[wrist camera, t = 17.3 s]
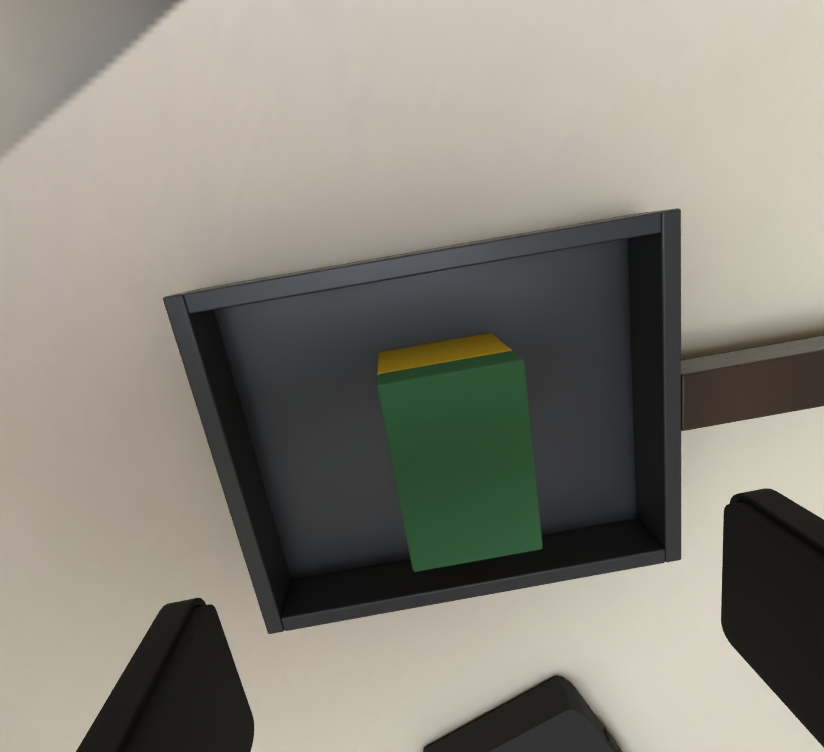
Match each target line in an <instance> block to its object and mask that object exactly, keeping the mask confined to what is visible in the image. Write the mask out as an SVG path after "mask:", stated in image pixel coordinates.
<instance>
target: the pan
mask: <svg viewBox="0 0 824 752" xmlns="http://www.w3.org/2000/svg"><path fill="white" fill-rule="evenodd" d="M163 301H164V304H165V307H166V310H167V313H168V317H169V320H170V323H171V326H172V329H173V332H174V336H175V339H176V342H177V345H178V348H179V352H180V355H181V358H182V361H183V364H184V367H185V371H186V374H187V377H188V380H189V383H190V387H191V390H192V393H193V396H194V399H195V402H196V406H197V409H198V412H199V415H200V418H201V422H202V425H203V428H204V431H205V434H206V437H207V441H208V444H209V447H210V450H211V453H212V457H213V460H214V463H215V466H216V469H217V472H218V476H219V479H220V482H221V485H222V488H223V492H224V495H225V498H226V501H227V504H228V507H229V511H230V514H231V517H232V520H233V523H234V527H235V530H236V533H237V536H238V539H239V542H240V546H241V549H242V552H243V555H244V558H245V562H246V565H247V568H248V571H249V574H250V577H251V581H252V584H253V587H254V590H255V593H256V597H257V600H258V603H259V606H260V609H261V612H262V616H263V619H264V622H265V625H266V628H267V632H268V634H272V633H278V632H283V631H284V630H285V631H288V630H294V629H299V628H305V627H310V626H316V625H321V624H327V623H332V622H338V621H344V620H349V619H355V618H360V617H366V616H371V615H377V614H382V613H388V612H394V611H399V610H405V609H410V608H416V607H421V606H427V605H432V604H438V603H443V602H449V601H455V600H460V599H466V598H471V597H477V596H482V595H488V594H493V593H499V592H505V591H510V590H516V589H521V588H527V587H532V586H538V585H543V584H549V583H555V582H560V581H566V580H571V579H577V578H582V577H588V576H593V575H599V574H604V573H610V572H616V571H621V570H627V569H632V568H638V567H643V566H649V565H654V564H660V563H664V562H671V561H677V560H680V559H681V210H680V209H670V210H662V211H654V212H646V213H638V214H631V215H626V216H620V217H614V218H608V219H602V220H597V221H591V222H585V223H579V224H573V225H568V226H562V227H556V228H550V229H544V230H539V231H533V232H527V233H521V234H515V235H509V236H504V237H498V238H492V239H486V240H480V241H475V242H469V243H463V244H457V245H451V246H446V247H440V248H434V249H428V250H422V251H417V252H411V253H405V254H399V255H393V256H388V257H382V258H376V259H370V260H364V261H358V262H353V263H347V264H341V265H335V266H329V267H324V268H318V269H312V270H306V271H300V272H295V273H289V274H283V275H277V276H271V277H266V278H260V279H254V280H248V281H242V282H237V283H231V284H225V285H219V286H213V287H207V288H202V289H196V290H192V291H188V292H183V293H179V294H175V295H171V296H166V297H164V298H163ZM487 333H492V334H493V335H494V336H495V337H497V338H498V339H499V340H500V341H501V342H503V343H504V344H505V345H506V346H507V347H509V348H510V349H511V350H512V351H513V352H514V353H516V354H517V355H518V356H519V357H520V358H522V359H523V360H524V364H525V374H526V384H527V394H528V404H529V414H530V424H531V434H532V444H533V454H534V464H535V474H536V484H537V494H538V504H539V514H540V524H541V534H542V544H543V547H542V549H540V550H534V551H529V552H523V553H518V554H512V555H507V556H501V557H495V558H490V559H484V560H479V561H473V562H468V563H462V564H456V565H451V566H445V567H440V568H434V569H428V570H423V571H417V572H414V571H413V569H412V565H411V560H410V554H409V549H408V544H407V539H406V534H405V529H404V524H403V519H402V514H401V508H400V503H399V498H398V493H397V488H396V483H395V478H394V473H393V468H392V462H391V457H390V452H389V447H388V442H387V437H386V432H385V427H384V422H383V416H382V411H381V406H380V401H379V396H378V391H377V377H378V376H377V372H378V354H379V352H383V351H389V350H395V349H400V348H406V347H412V346H418V345H423V344H429V343H435V342H441V341H446V340H452V339H458V338H464V337H469V336H475V335H481V334H487Z"/></svg>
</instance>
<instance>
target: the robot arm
mask: <svg viewBox="0 0 824 752" xmlns="http://www.w3.org/2000/svg"><path fill="white" fill-rule="evenodd" d="M721 624H722V628H723V631H724V633H725V636H726V637H727V639H728V641H729V642H730V643H731V645H732V646H733V647H734V648H735V649H736V651H737V652H738V653H739V654H740V655H741V656H742V657H743V658H744V659H745V661H746V662H747V663H748V664H749V665H750V666H751V667H752V668H753V669H754V670H755V672H756V673H757V674H758V675H759V676H760V677H761V678H762V679H763V680H764V682H765V683H766V684H767V685H768V686H769V687H770V688H771V689H772V690H773V692H774V693H775V694H776V695H777V696H778V697H779V698H780V699H781V700H782V702H783V703H784V704H785V705H786V706H787V707H788V708H789V709H790V710H791V712H792V713H793V714H794V715H795V716H796V717H797V718H798V719H799V720H800V722H801V723H802V724H803V725H804V726H805V727H806V728H807V729H808V730H809V732H810V733H811V734H812V735H813V736H814V737H815V738H816V739H817V740H818V742H819V743H820V744H821V745H822V746H823V747H824V520H823V519H822V518H820V517H818V516H817V515H815V514H813V513H812V512H810V511H808V510H807V509H805V508H803V507H802V506H800V505H798V504H797V503H795V502H793V501H792V500H790V499H788V498H787V497H785V496H783V495H782V494H780V493H778V492H777V491H774V490H772V489H760V490H755V491H750V492H744V493H739V494H736V495H734V496H733V497H732V498H731V500H730V504H728V505H726V507H725V509H724V527H723V567H722V607H721ZM253 738H254V720H253V716H252V712H251V710H250V707H249V704H248V701H247V698H246V695H245V692H244V689H243V686H242V683H241V680H240V678H239V675H238V672H237V669H236V666H235V663H234V660H233V657H232V654H231V651H230V649H229V646H228V643H227V640H226V637H225V634H224V631H223V628H222V625H221V622H220V620H219V617H218V614H217V611H216V609H215V607H214V606H213V605H206V604H205V602H204V601H203V600H202V599H201V598H195V599H190V600H184V601H179V602H174V603H169V604H166V605H164V606H163V607H162V609H161V610H160V611H159V613H158V615H157V616H156V618H155V620H154V621H153V623H152V625H151V626H150V628H149V630H148V631H147V633H146V635H145V637H144V638H143V640H142V642H141V643H140V645H139V647H138V648H137V650H136V652H135V653H134V655H133V657H132V658H131V660H130V662H129V663H128V665H127V667H126V669H125V670H124V672H123V674H122V675H121V677H120V679H119V680H118V682H117V684H116V685H115V687H114V689H113V690H112V692H111V694H110V695H109V697H108V699H107V700H106V702H105V704H104V706H103V707H102V709H101V711H100V712H99V714H98V716H97V717H96V719H95V721H94V722H93V724H92V726H91V727H90V729H89V731H88V732H87V734H86V736H85V738H84V739H83V741H82V743H81V744H80V746H79V748H78V749H77V751H76V752H250V751H251V747H252V743H253Z"/></svg>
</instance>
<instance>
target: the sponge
mask: <svg viewBox="0 0 824 752" xmlns="http://www.w3.org/2000/svg"><path fill="white" fill-rule="evenodd" d="M377 376H378V377H377V391H378V396H379V401H380V406H381V411H382V416H383V422H384V427H385V432H386V437H387V442H388V447H389V452H390V457H391V462H392V468H393V473H394V478H395V483H396V488H397V493H398V498H399V503H400V508H401V514H402V519H403V524H404V529H405V534H406V539H407V544H408V549H409V554H410V560H411V565H412V569H413V571H414V572H417V571H423V570H428V569H434V568H440V567H445V566H451V565H456V564H462V563H468V562H473V561H479V560H484V559H490V558H495V557H501V556H507V555H512V554H518V553H523V552H529V551H534V550H540V549H542V547H543V544H542V534H541V524H540V514H539V504H538V494H537V484H536V474H535V464H534V454H533V444H532V434H531V424H530V414H529V404H528V394H527V384H526V374H525V364H524V360H523V359H522V358H520V357H519V356H518V355H517V354H516V353H514V352H513V351H512V350H511V349H510V348H509V347H507V346H506V345H505V344H504V343H503V342H501V341H500V340H499V339H498V338H497V337H495V336H494V335H493V334H492V333H487V334H481V335H475V336H469V337H464V338H458V339H452V340H446V341H441V342H435V343H429V344H423V345H418V346H412V347H406V348H400V349H395V350H389V351H383V352H379V354H378V372H377Z"/></svg>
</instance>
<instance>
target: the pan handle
mask: <svg viewBox="0 0 824 752" xmlns="http://www.w3.org/2000/svg"><path fill="white" fill-rule="evenodd" d="M820 406H824V336H819V337H813V338H807V339H802V340H796V341H790V342H785V343H779V344H773V345H767V346H762V347H756V348H750V349H745V350H739V351H733V352H728V353H722V354H716V355H711V356H705V357H699V358H693V359H688V360H682V361H681V430H682V431H685V430H691V429H696V428H702V427H708V426H713V425H719V424H724V423H730V422H736V421H741V420H747V419H753V418H758V417H764V416H770V415H775V414H781V413H787V412H792V411H798V410H803V409H809V408H815V407H820Z"/></svg>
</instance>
